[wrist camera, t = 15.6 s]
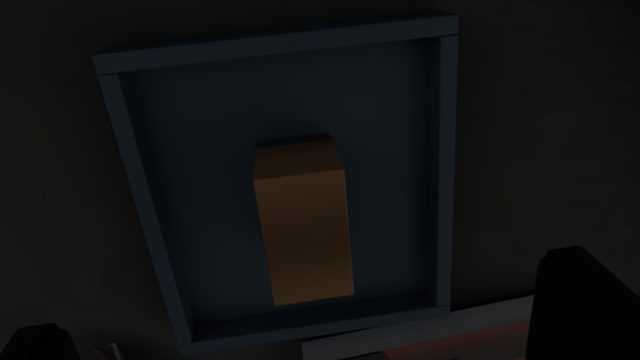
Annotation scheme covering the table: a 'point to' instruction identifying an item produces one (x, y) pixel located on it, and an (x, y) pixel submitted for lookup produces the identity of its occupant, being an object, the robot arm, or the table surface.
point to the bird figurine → (109, 353)
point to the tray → (282, 122)
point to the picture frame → (437, 337)
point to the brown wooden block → (303, 218)
